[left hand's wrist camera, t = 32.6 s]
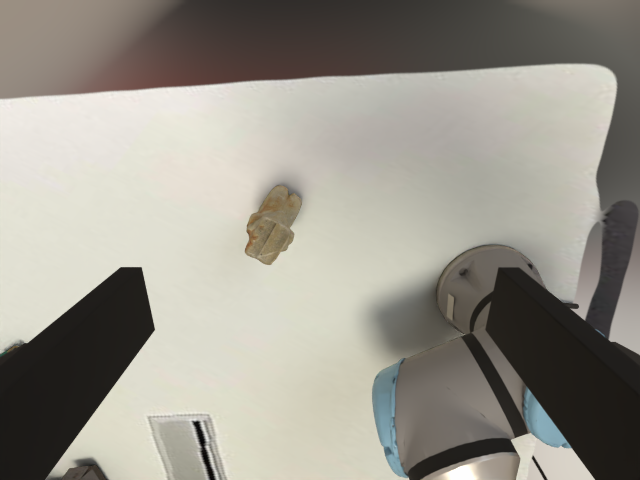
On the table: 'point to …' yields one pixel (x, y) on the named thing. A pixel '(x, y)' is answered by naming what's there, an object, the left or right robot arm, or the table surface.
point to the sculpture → (272, 225)
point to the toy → (84, 473)
